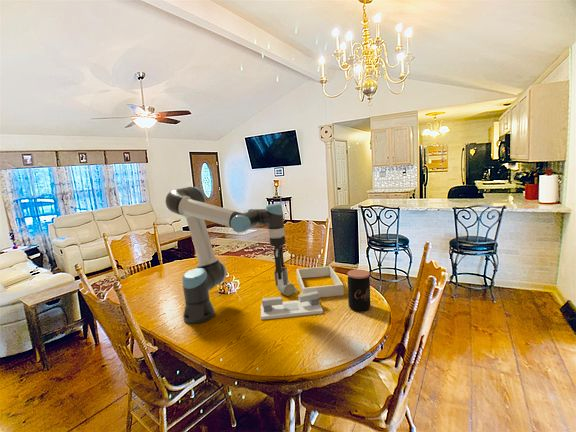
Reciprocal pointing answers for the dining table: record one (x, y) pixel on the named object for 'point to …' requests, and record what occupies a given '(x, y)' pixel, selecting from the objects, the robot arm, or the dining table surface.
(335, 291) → the tray
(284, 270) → the dark grey block
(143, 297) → the dining table surface
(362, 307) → the coffee jar
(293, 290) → the ceramic mug
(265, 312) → the white base plate
